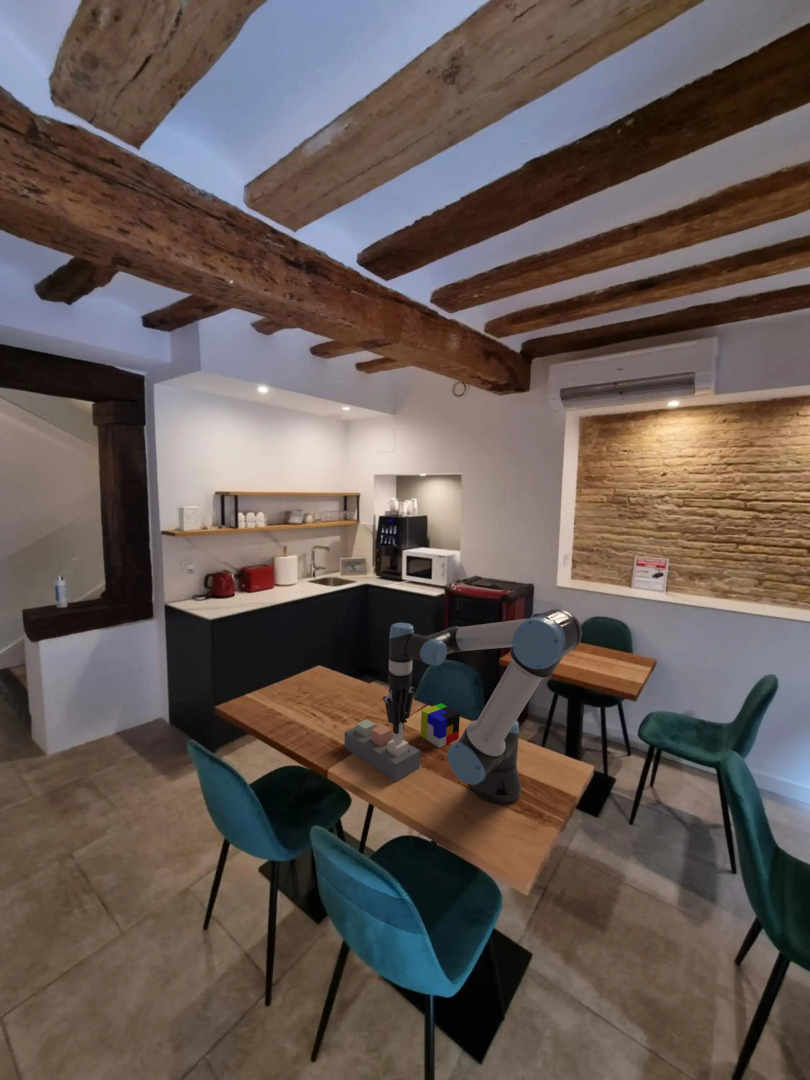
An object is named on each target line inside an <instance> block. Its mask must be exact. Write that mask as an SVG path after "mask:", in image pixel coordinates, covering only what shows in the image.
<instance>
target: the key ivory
mask: <svg viewBox="0 0 810 1080" xmlns="http://www.w3.org/2000/svg"><path fill="white" fill-rule="evenodd" d="M408 744H409V742H408V741H406V740H404V739H403V742H402V743H400V744H399V743H397V742H395V741H394V739H393V740H391V741H389V742H388V745H387V752H388V753H390V754H392V755H393V756H395V757H397V758H399V757H401V756H402V755H404V754H406V753H408Z"/></svg>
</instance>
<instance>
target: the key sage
mask: <svg viewBox="0 0 810 1080" xmlns="http://www.w3.org/2000/svg"><path fill="white" fill-rule="evenodd" d="M376 726H377V724H376V723H375V722H373V721H371V720H369V719H367V718H366V719H364V720H362V721H359V722H357V723H356V726H355V727H356V733H357V734H359V735H361V736H362V737H364V738H366V737H368V736H371V731H372V729H373V728H376Z"/></svg>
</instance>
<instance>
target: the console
mask: <svg viewBox="0 0 810 1080" xmlns="http://www.w3.org/2000/svg"><path fill="white" fill-rule="evenodd" d="M378 726H379V725H378ZM378 726H377V725H376V727H378ZM393 739H394V734H392V733H391V740H393ZM343 744H344V747H343V748H344V749H345V750H347V751H348V752H349V753H352V754H353V755H355V756H356V757H357V758H359V759H360V760H362V761H363V762H365V764H368V765H370V767H372V768H374V769H375V770H377V771H378V772H380V773H381V774H383V775H385V776H386V777H387V778H388V779H390V780H392V781H393V782H394V783H397V782H399V781H400V780H402V779H403V778H405V777H406V776H409V775H410V774H411V773H413V772H415V771H417V770H418V769H420V768H421V766H420V765H421V750H420V749H419V748H417V747H415V746H413V745H411V744H409V743H408V753H406V754H404V755H402V756H401V757H399V758H397V757H395V756H393V755H392V754H390V753H388V752H387V745H388V744H387V745H385V746H383V747H381V748H380V747H379V746H377V745H375V744H374V743H372V742H371V736H368V737H366V738H364V737H362V736H361V735H359V734H357V733H356V726H355V727H352V728H349V729H348V730H346V731H344V742H343Z"/></svg>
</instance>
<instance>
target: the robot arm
mask: <svg viewBox="0 0 810 1080" xmlns="http://www.w3.org/2000/svg"><path fill="white" fill-rule="evenodd" d="M582 636H583V630H582V626H581V623H580V621H579V620H578V618H577V617H575V615H574V614H572V613H571V611H570V612H569V611H567V610H564V609H561V608H555V609H554V608H553V609H551V610H548V611H544V612H540V613H534V614H532V615H531V616H530V617H529V618H521V619H514V620H507V621H499V622H490V623H484V624H475V625H468V626H458V625H457V626H451V627H447V628H446V629H443V630H441V631H438V632H435V633H432V634H430V635H421V634H418V633H415V631H414V626H413V624H411V623H409V622H396V623H393V624H391V626H390V628H389V637H388V639H389V650H388V651H389V652H388V653H389V654H388V681H387V682H388V684H389V689H388V694H387V695H386V696H385V695H384V696H382V700H383V701H384V704H385V709H386V717H387V722H388V723H389V724H392V733H393V735H394V741H395V742H397V743H399V744H400V743H402V742H403V740H404V730H405V724H406V723H407V722H408V720H407V719H409V718H410V715H411V710H412V704H413V701H414V700H413V698H414V695H415V692H416V688H415V687H413V686H412V682H413V681H412V680H413V672H412V671H413V660H416V661H419V662H422V663H425V664H426V665H430V666H431V665H432V666H440V665H442V664H443V662H444V661H445V660H446V659H447V655H449V654H452V653H457V652H459V653H460V652H466V651H478V650H479V651H480V650H490V649H500V648H501V649H503V648H510V650H509V654H510V655H509V656H510V658H511V661H510V662H509V663H508V666H507V668H506V669H505V671H504V673H503V674H502V676H501V678H500V679H499V682H498V683H497V684H496V687H495V689H494V690H493V692H492V693H491V696H490V697H489V699H488V701H487V703H486V704H485V706H484V708H483V709H482V711H481V713H480V714H479V716H478V717H477V719H476V720H471V721H470V722H469V723H468V724H467V726H466V728H465V730H464V731H463V733H462V734H461V736H460V738H459V739H458V740H456V741H454V742H452V744H451V746H450V747H449V749H448V752H447V761H448V763H449V767H450V768H451V771H452V772H453V774H454V775H455V776H456V778H458V779H459V780H460V781H461V782H462V783H463V784H467V785H471V789H472V790H473V792H474V793H475V794H476V795H477V796H478V797H479V798H481V799H482V800H484V801H487V802H490V803H492V804H500V805H501V804H502V805H504V804H505V805H506V804H511V803H514V802H516V801H517V800H519V798H520V797H521V794H522V782H521V778H520V775H519V771H518V767H517V765H518V751H519V736H520V735H519V734H520V730H519V729H520V728H519V726H520V724H519V722H518V718H520V715H521V713H522V712H523V711H524V708H525V707H526V705H527V704H528V702H529V700H530V699H531V697H532V695H533V694H534V692H535V691H536V689H537V688H538V686H539V684H540V683H541V681H542V680H544V679H546V680H547V679H549V678H551V677H552V675H553V674H554V672H555V671H556V669H557V668H558V666H559V664H560V663H561V661H562V660H563V658H564V657H565V656H566V655H568V654H570V653H572V651H575V649H576V648H577V647H578V646H579V644H580V643H581V640H582V638H583V637H582Z"/></svg>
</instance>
